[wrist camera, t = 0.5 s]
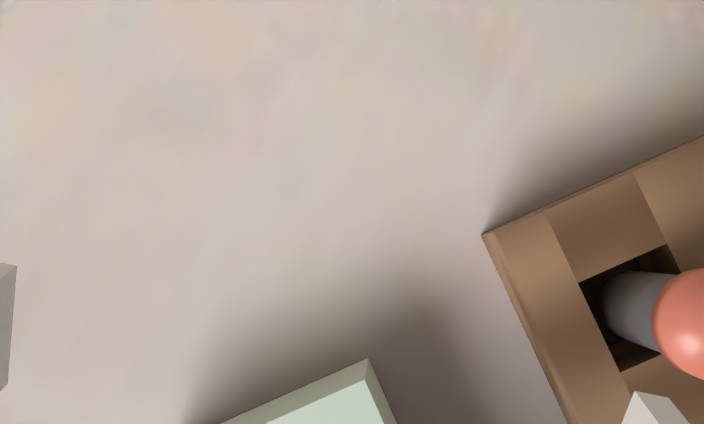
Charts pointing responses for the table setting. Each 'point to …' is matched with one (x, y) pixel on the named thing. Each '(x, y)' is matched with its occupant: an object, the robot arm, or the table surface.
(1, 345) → the robot arm
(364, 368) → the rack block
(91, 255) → the table surface
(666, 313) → the plunger
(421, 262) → the table surface
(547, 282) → the socket block
